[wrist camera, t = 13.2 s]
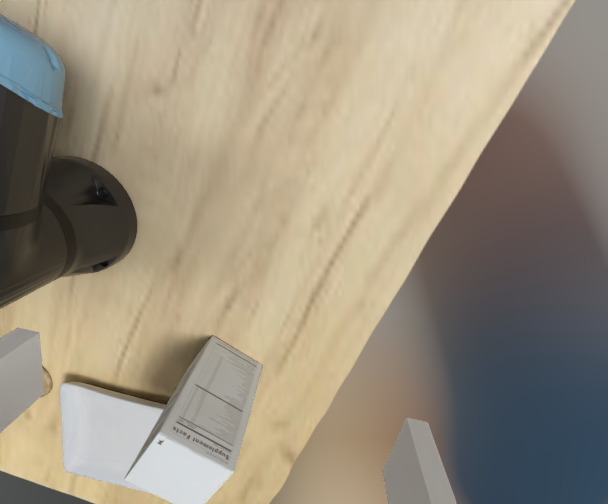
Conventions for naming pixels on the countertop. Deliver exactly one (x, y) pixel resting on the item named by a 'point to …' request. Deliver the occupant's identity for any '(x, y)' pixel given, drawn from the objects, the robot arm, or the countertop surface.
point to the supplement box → (199, 428)
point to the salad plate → (104, 431)
